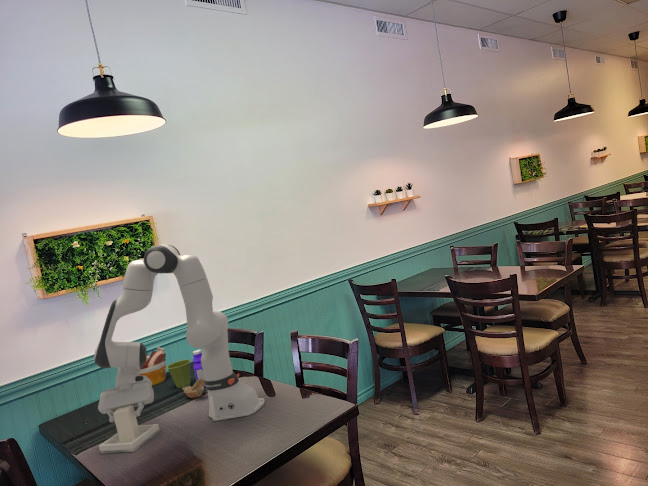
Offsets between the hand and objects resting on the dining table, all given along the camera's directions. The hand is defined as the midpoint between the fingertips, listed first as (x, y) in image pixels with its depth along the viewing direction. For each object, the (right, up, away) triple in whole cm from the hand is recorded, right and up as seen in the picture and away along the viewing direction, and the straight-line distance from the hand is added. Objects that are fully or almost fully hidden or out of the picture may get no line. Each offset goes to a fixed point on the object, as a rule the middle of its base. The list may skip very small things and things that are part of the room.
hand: (124, 418), depth 181 cm
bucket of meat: (-16, -9, +77) cm, 80 cm away
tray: (+2, -9, +1) cm, 9 cm away
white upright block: (+2, -8, +1) cm, 8 cm away
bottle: (+17, -3, +53) cm, 55 cm away
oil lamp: (+15, -4, +41) cm, 44 cm away
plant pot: (+4, -6, +61) cm, 62 cm away
